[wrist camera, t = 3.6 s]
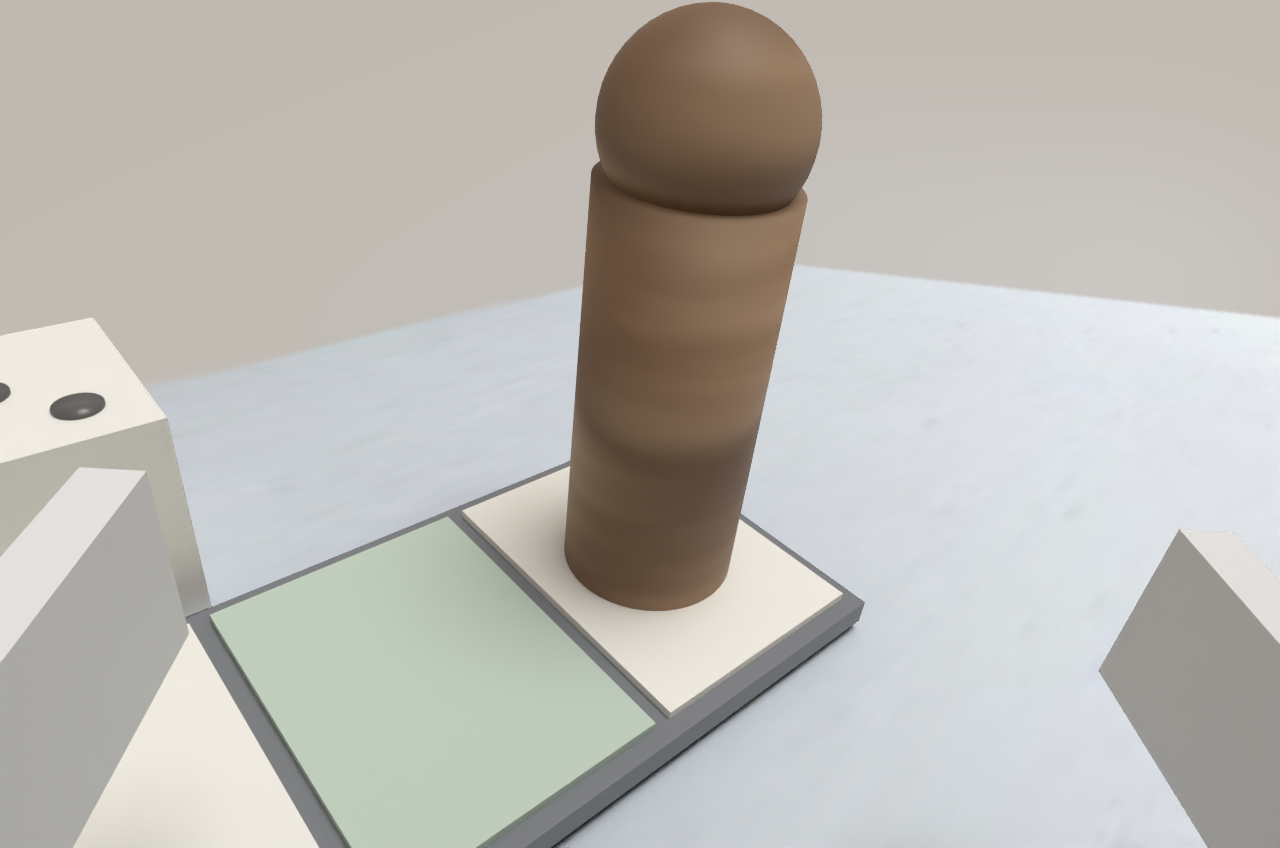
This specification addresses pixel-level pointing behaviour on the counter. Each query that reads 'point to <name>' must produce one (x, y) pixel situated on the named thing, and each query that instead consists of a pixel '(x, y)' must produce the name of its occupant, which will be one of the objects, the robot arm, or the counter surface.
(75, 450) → the die
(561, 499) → the board
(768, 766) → the counter surface
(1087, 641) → the counter surface
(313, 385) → the counter surface
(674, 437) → the pawn
